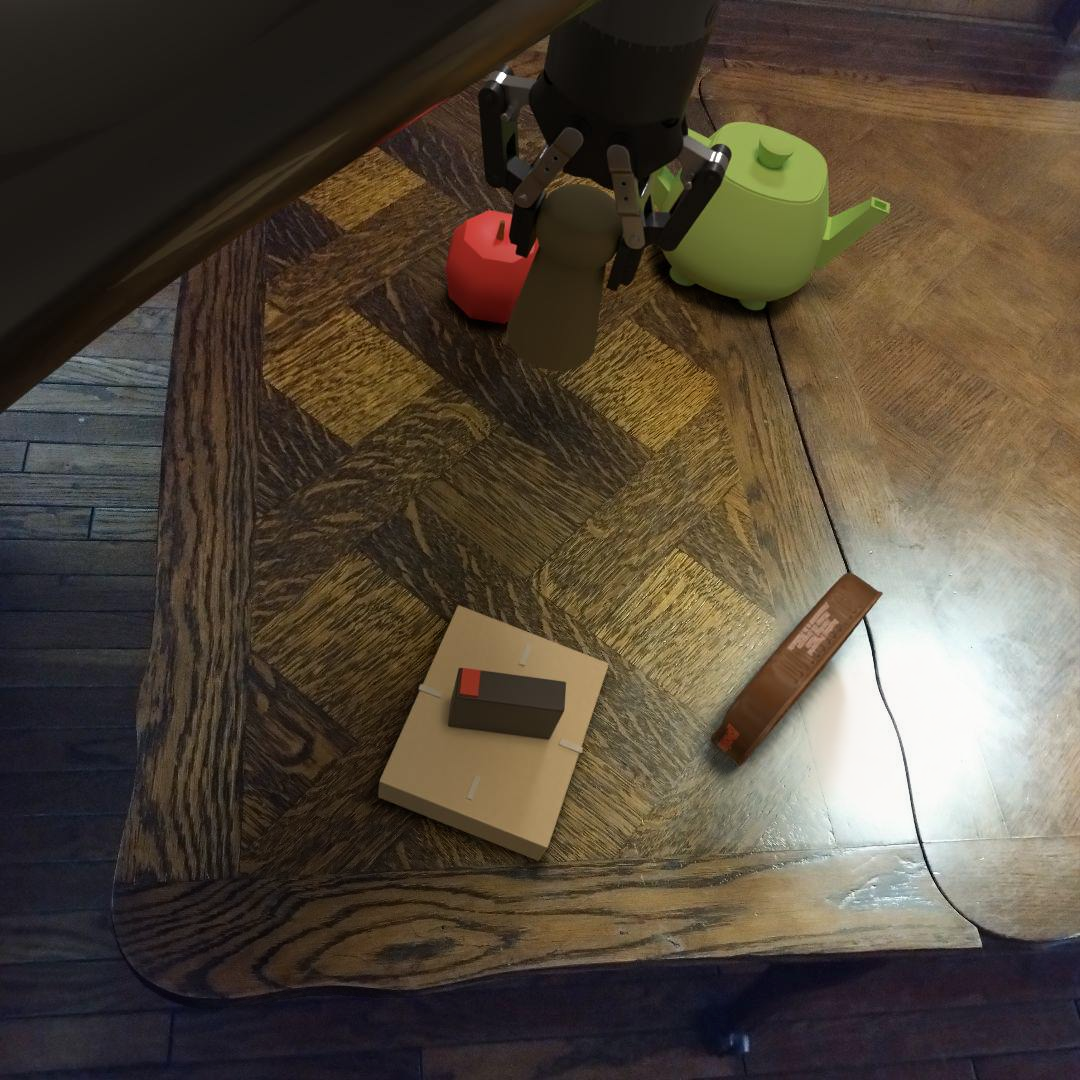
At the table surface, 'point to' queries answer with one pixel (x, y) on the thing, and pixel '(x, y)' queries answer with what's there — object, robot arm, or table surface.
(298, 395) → the table surface
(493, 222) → the apple
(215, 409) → the table surface
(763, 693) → the tin
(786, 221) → the teapot
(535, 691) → the red tipped black brick
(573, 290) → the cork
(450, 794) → the panel
